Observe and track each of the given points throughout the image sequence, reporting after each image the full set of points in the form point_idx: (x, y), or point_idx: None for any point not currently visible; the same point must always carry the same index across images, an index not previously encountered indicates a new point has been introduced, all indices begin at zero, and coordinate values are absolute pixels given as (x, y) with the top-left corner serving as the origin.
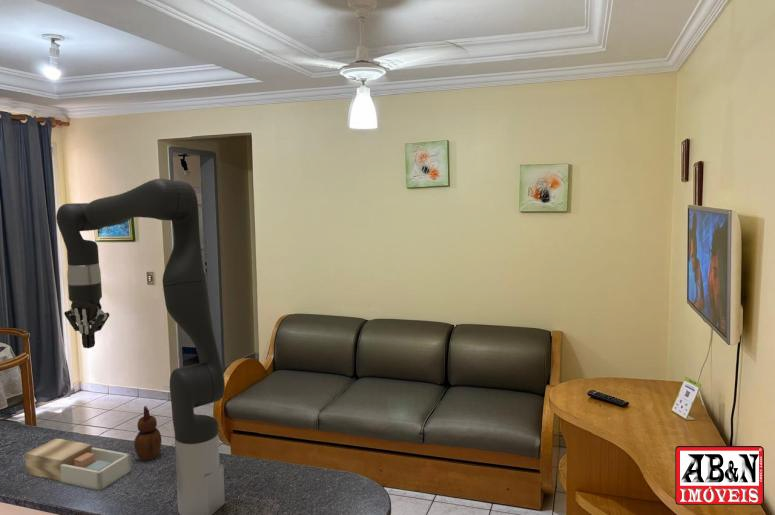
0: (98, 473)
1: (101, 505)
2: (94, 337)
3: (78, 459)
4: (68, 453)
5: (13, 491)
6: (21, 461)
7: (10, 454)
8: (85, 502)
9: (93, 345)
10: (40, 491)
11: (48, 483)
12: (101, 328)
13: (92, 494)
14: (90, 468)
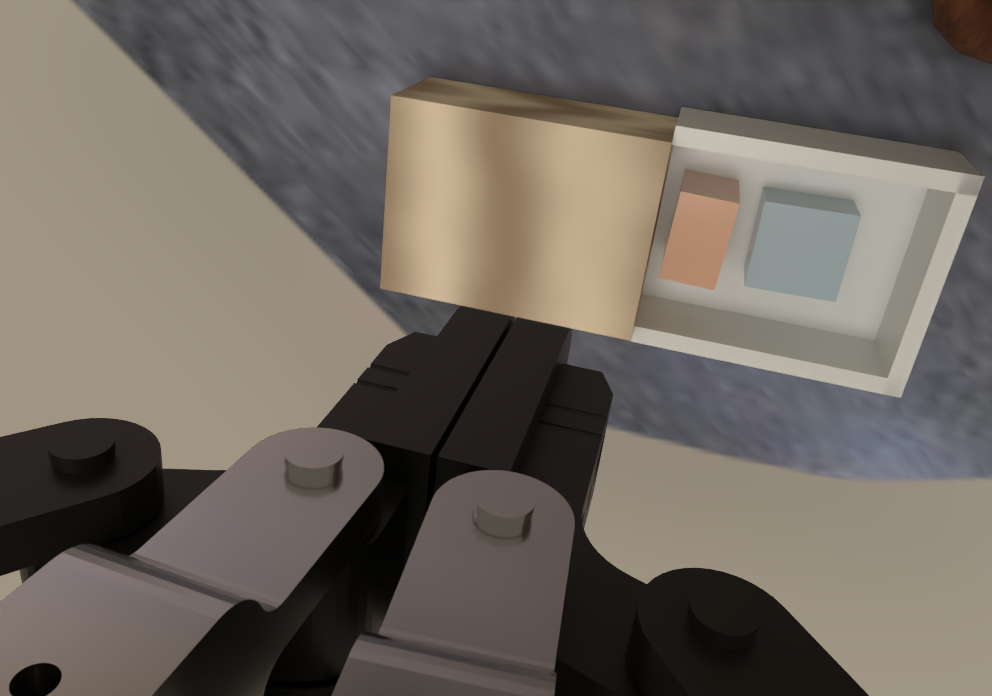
0: (895, 395)
1: (961, 458)
2: (593, 469)
3: (686, 275)
4: (610, 265)
5: None
6: (290, 143)
7: (176, 84)
8: (867, 441)
9: (565, 344)
10: None
11: None
12: (824, 658)
13: None
14: (776, 289)
